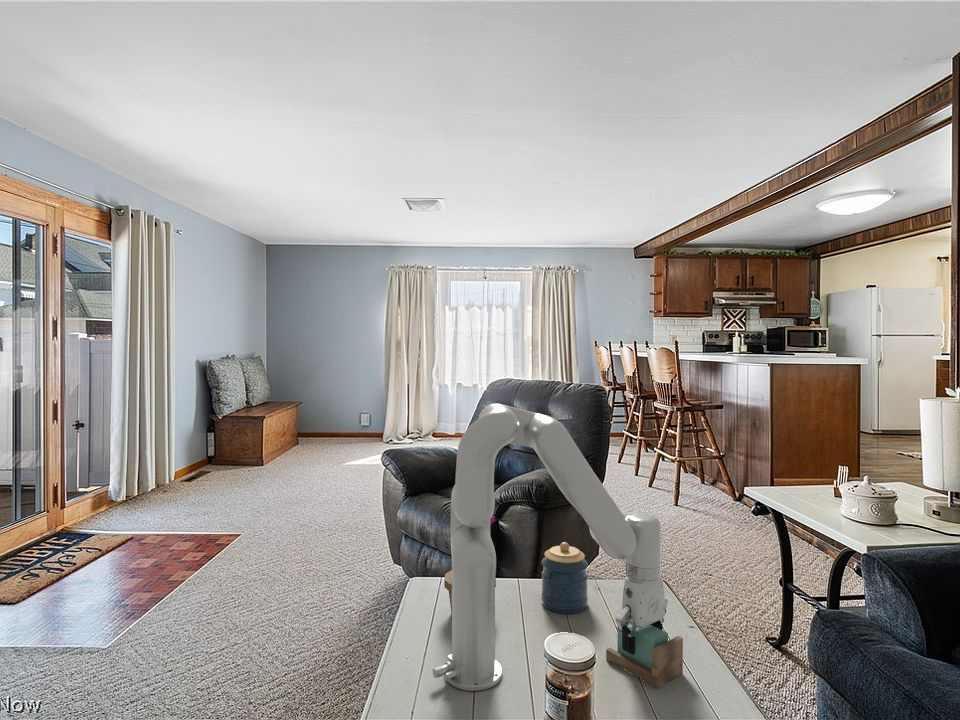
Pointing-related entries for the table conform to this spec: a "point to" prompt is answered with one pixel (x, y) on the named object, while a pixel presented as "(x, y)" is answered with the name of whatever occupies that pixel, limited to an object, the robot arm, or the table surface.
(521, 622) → the table surface
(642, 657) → the teal rectangular block
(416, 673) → the table surface
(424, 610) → the table surface
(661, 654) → the book slot
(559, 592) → the canister
